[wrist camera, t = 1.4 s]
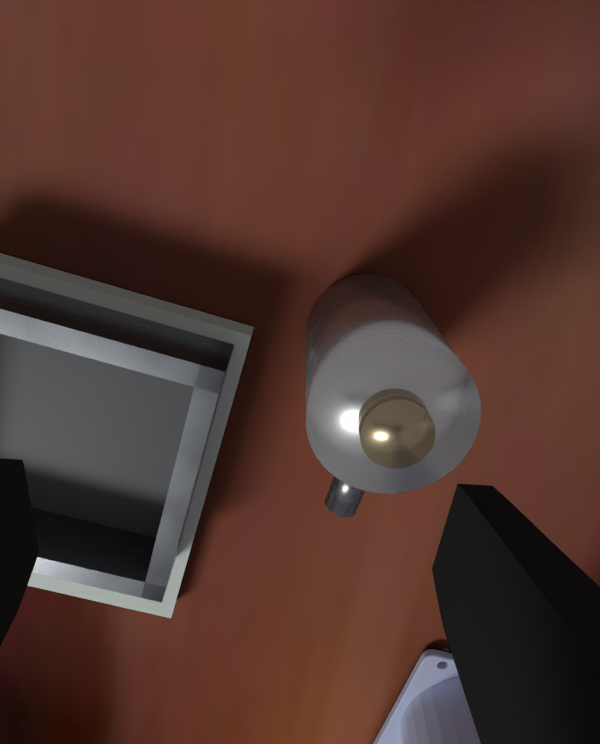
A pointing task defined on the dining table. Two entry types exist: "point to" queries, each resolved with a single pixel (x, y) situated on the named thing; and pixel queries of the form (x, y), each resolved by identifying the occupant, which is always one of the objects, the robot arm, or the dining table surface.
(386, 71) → the dining table surface
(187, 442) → the box
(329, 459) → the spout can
